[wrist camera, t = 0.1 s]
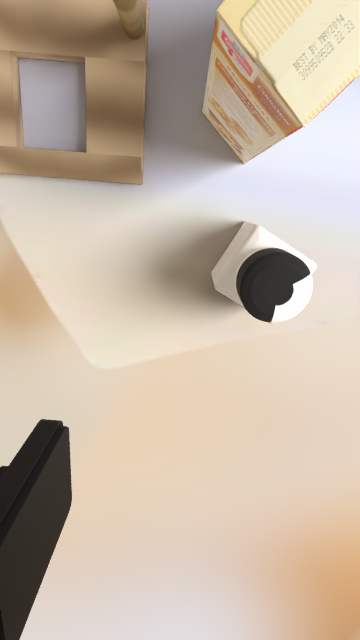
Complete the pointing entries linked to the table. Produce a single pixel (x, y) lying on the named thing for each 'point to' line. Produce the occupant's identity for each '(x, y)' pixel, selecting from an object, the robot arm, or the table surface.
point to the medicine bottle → (264, 275)
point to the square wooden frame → (100, 83)
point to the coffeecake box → (278, 67)
